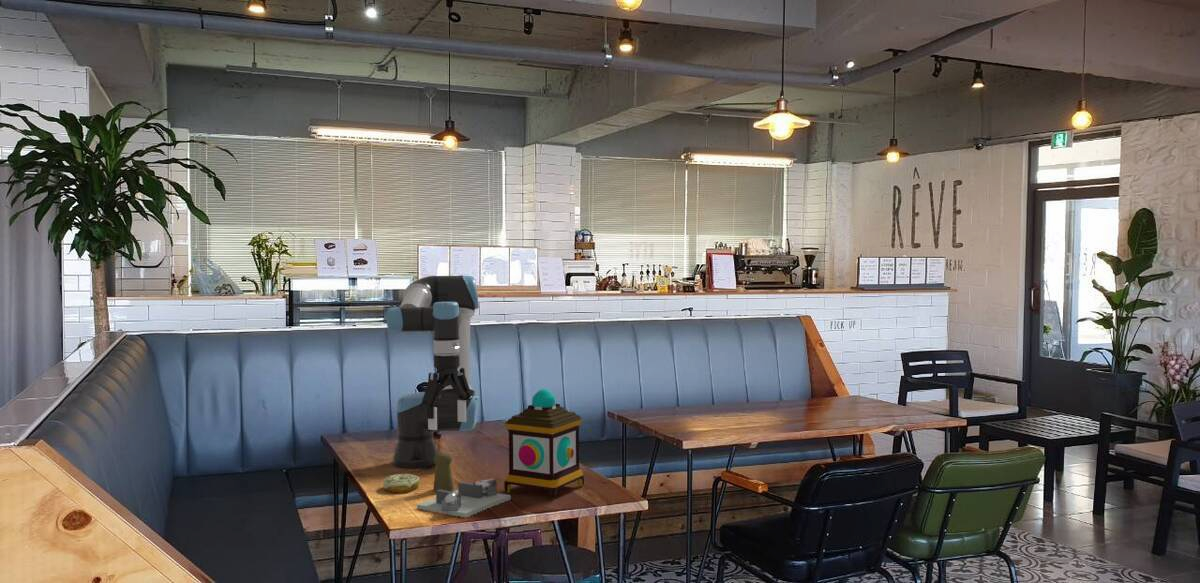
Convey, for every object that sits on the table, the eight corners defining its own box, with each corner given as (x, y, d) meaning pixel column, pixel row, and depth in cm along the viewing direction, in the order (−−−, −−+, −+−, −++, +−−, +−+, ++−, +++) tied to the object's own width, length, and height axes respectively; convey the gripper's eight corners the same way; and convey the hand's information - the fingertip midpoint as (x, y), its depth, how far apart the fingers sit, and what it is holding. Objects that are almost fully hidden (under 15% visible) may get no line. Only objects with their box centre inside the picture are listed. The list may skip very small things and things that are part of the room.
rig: (417, 508, 243) (416, 491, 242) (463, 491, 260) (463, 475, 259) (465, 517, 234) (465, 500, 234) (510, 499, 251) (510, 483, 251)
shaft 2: (480, 498, 248) (480, 483, 248) (472, 495, 252) (471, 480, 251) (498, 494, 252) (498, 479, 252) (489, 491, 255) (489, 476, 255)
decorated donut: (379, 494, 258) (379, 481, 258) (388, 484, 269) (387, 472, 269) (415, 494, 258) (414, 481, 258) (422, 484, 269) (422, 472, 269)
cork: (436, 493, 258) (436, 456, 257) (430, 488, 263) (430, 452, 263) (456, 490, 260) (456, 453, 260) (450, 486, 266) (449, 449, 265)
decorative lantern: (555, 502, 248) (554, 396, 246) (497, 493, 257) (496, 391, 256) (590, 485, 265) (589, 386, 264) (535, 477, 275) (534, 382, 274)
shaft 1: (446, 505, 241) (446, 490, 241) (462, 505, 241) (462, 490, 241) (441, 510, 236) (441, 495, 236) (457, 511, 236) (457, 495, 236)
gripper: (428, 359, 248) (429, 434, 249) (482, 350, 270) (483, 419, 271) (408, 357, 252) (409, 431, 253) (462, 349, 273) (463, 417, 274)
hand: (447, 425), depth 262 cm, fingers open, 13 cm apart
